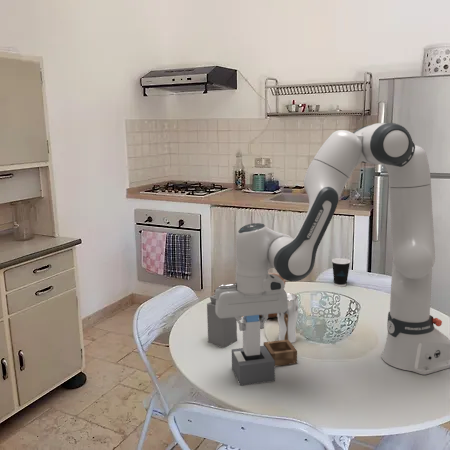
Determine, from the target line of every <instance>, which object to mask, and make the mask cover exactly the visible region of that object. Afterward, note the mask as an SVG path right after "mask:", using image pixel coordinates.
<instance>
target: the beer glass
mask: <svg viewBox="0 0 450 450" xmlns="http://www.w3.org/2000/svg"><path fill="white" fill-rule="evenodd" d="M286 294H287V300H288V309H287V311H286V312H285V313H277V317H276V318H277V322H278V335H277V341H279V340H289V341H290V342H291V344H293V343H295V342H297V334H296V327H297V321H298V315H299V299H298V298H299V297H298V295H296V294H294V293H290V292H286Z"/></svg>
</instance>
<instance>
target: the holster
mask: <svg viewBox="0 0 450 450" xmlns="http://www.w3.org/2000/svg"><path fill="white" fill-rule="evenodd" d="M264 345H265V347H266V349H267V350H268V352H269V353H270V355H271V356H272V358H273V359H274V361H275V367H281V366H285V365H293V364H295V365H296V364H298V350H297V349H296V347H295V346H294V345H293V343H291V342H290V341H289V340H272V341H263V346H264Z"/></svg>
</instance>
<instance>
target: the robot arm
mask: <svg viewBox="0 0 450 450" xmlns="http://www.w3.org/2000/svg"><path fill="white" fill-rule="evenodd" d="M361 163H364V164H370V165H376V166H377V165H378V166H379V165H383V166H384V167H385V168H386V171H387V175H388V189H389V192H388V193H389V195H388V196H389V209H390V210H389V211H390V234H391V238H390V239H391V255H392V269H391V284H390V302H389V311H388V314H387V322H386V323H387V327H386V328H387V335H386V341H385V344H384V347H383V351H382V353H381V358H382V360H383V361H384V363H386V364H388V365H390V366H392V367H393V368H397V369H399V370H404V371H410V372H414V373H417V374H420V375H428V374H432V373H436V372H439V371H442V370H446V369H450V339H449V337H448V336H447V335H445V334H444V333H442V332H441V331H440V330H439V329H437V328H436V327H441V326H442V325H443V321H442V319H439V318H438V317H434V316H432V315H431V302H432V284H433V283H432V280H433V267H434V265H435V262H436V261H435V260H436V246H435V234H434V232H435V231H434V218H433V201H432V200H433V197H432V196H433V195H432V180H431V171H430V170H431V169H430V164H429V159H428V156H427V152H426V151H425V148H423V147H421V146H420V145H416V144H415V143H414V141H413V138H412V135H411V134H410V132H409V131H408V130H407V128H405V127H404V126H403V125H401V124H398V123H394V122H378V123H373V124H369V125H365V126H361V127H360V128H357V129H356V130H355V131H353V132H351V131H349V130H346V129H345V130H344V129H340V130H339V129H338V130H335V131H333V132H332V133H331V134H330V135H329V136H328V138H327V139H325V141H324V142H323V143H322V145H321V146H320V148H319V149H318V151H317V152H316V154H315V155H314V157H313V159H312V160H311V162H310V164H309V166H308V167H307V169H306V172H305V175H304V179H303V186H304V187H303V188H304V189H305V192H306V194H307V197H308V209H307V212H306V215H305V217H304V218H303V220H302V222H301V225H300V226H299V229H298V230H297V233H296V234H295V237H292V236H291V235H289V234H287V233H283V232H280V231H276V230H274V229H271V228H270V227H268V226H266V225H265V224H264V223H260V222H257V223H255V222H254V223H249V224H246V225H243V226H242V227H240V228H239V230H238V231H237V235H236V238H235V239H236V241H235V260H236V267H235V283H229V284H220V285H218V286H217V287H216V288H215V289H214V290H215V292H214V295H215V299H216V306H215V312H216V315H217V316H218V317H219V318H221V319H222V318H232V317H235V318H236V320H237V323H238V329H239V332H243V331H245V324H244V323H243V322H242V321H243V317H244V316H253V315H262V316H263V317H261V319H259V320H260V330H264V329H265V323H266V322H267V321H268V319H269V318H268V314H275V313H285V312H286V311H287V309H288V300H287V294H286V293H287V292H286V290H285V288H286V283H285V284H284V282H283V281H282V280H281V279H280V278H279V277H278V276H276V275H272V274H268V273H269V270H270V269H275V271H276V272H277V274H279V275H280V276H281V277H282V278H283V279H285V280H286V281H288V282H299V281H302V280H303V279H305V278H307V277H308V276H309V275H310V274H311V272H312V271H313V269H314V267H315V263H316V257H317V251H318V249H319V246H320V243H321V242H322V240H323V238H324V236H325V233H326V232H327V229H328V227H329V225H330V223H331V222H332V219H333V217H334V214H335V211H336V209H337V207H338V204H339V200H340V198H341V194H342V192H343V190H344V188H345V187H346V185H347V183H348V182H349V179H350V178H351V176H352V175H353V172H354V170H355V169H356V168H357V167H358V165H360V164H361ZM218 288H220V289H218ZM435 326H436V327H435Z"/></svg>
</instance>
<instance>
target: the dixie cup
mask: <svg viewBox="0 0 450 450" xmlns="http://www.w3.org/2000/svg"><path fill="white" fill-rule="evenodd" d="M331 263H332V273H333V283H334V286H335V287H337V288H344V287H346V286H347V284H348V277H349V273H350V272H349V271H350V263H352V262H351V260H350V259H348V258H342V257H341V258H339V257H335V258H332V259H331Z"/></svg>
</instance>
